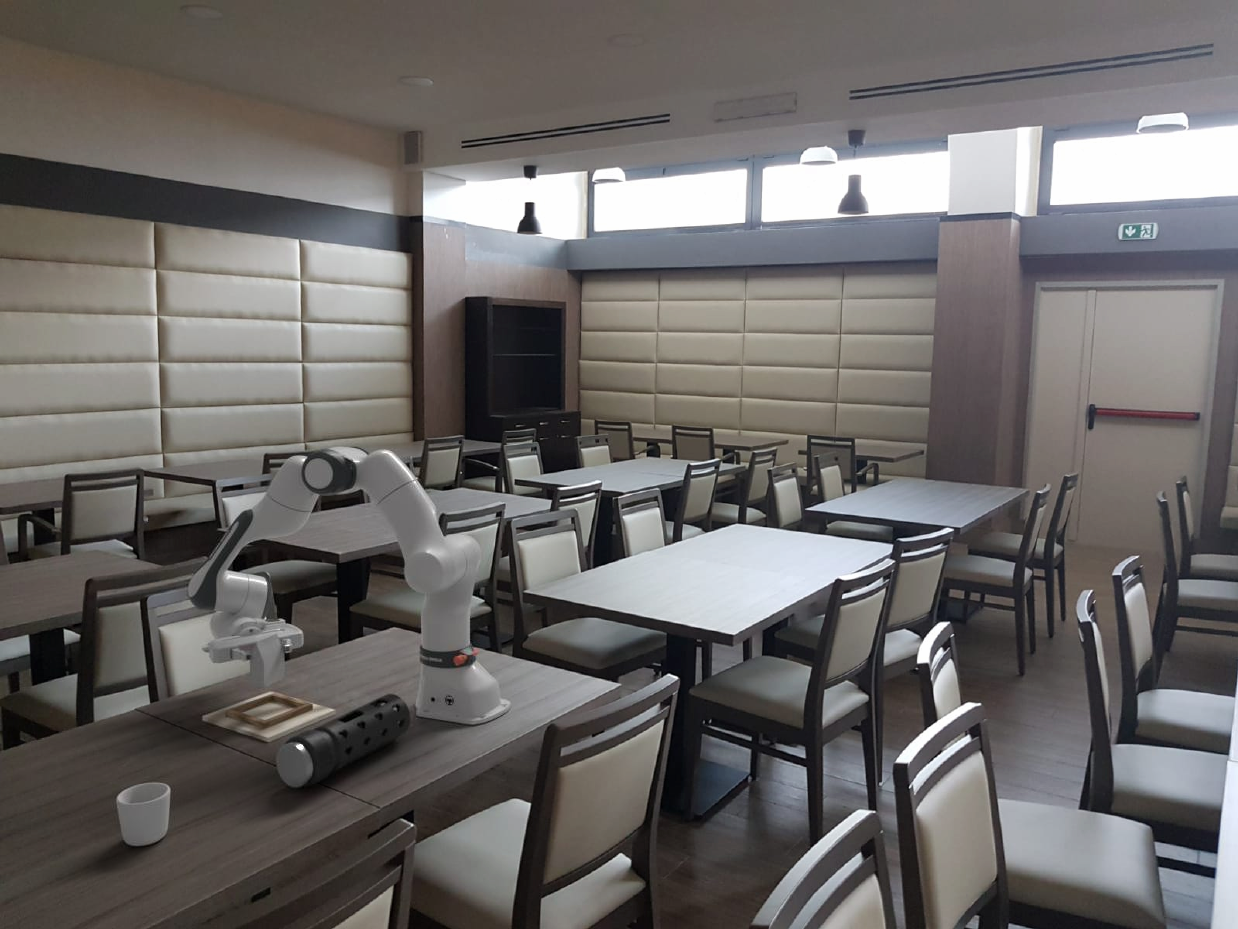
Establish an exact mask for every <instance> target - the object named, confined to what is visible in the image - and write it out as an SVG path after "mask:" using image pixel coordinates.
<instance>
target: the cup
mask: <svg viewBox="0 0 1238 929" xmlns="http://www.w3.org/2000/svg"><path fill="white" fill-rule="evenodd" d="M115 800H116V808H117V814H118V819H119V825H120V829H121V830H120V831H121V835H122V836H121V837H122V839H123V841H124V842H125V844H127V845H129V846H132V847H143V846H148V845H149V846H150V845H152V844H155V843H157V842H158V841H160V840H161V839H163V838H164V837H165V836H166V834H167V832H168V829H169V819H170V818H169V817H170V804H171V787H170V786H169V785H168V784H166V783H163V782H145V783H140V784H136V785H134V786H131V787H128V788H126V789H124V790H122V791H121V792H120V793H119V794H118V795H117V797H116V799H115Z"/></svg>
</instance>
